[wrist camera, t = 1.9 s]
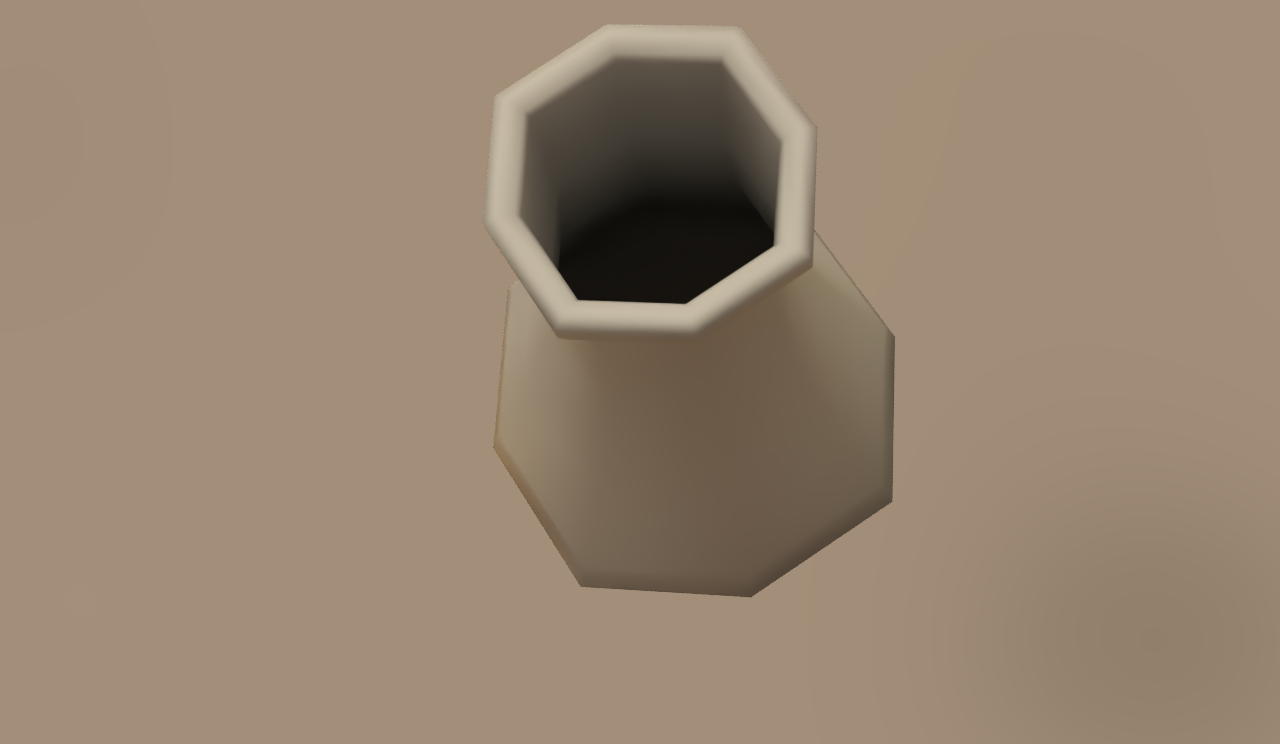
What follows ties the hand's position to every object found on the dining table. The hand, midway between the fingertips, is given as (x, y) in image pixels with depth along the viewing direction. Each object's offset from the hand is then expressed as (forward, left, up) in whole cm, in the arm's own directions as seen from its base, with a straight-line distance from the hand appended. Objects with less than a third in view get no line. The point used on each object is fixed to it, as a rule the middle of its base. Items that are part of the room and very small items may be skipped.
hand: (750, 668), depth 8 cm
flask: (+4, +2, -11) cm, 12 cm away
